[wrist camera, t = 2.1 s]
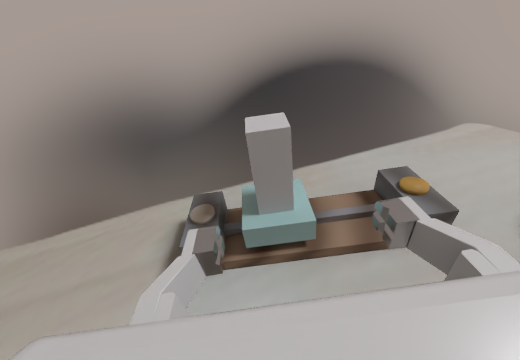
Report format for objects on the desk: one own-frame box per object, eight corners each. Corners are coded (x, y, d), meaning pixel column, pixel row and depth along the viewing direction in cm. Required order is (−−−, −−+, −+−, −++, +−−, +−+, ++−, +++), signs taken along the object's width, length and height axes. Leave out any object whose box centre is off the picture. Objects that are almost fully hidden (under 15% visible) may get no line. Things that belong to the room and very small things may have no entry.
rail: (192, 273, 26) (177, 243, 23) (203, 220, 34) (192, 191, 31) (442, 241, 26) (461, 206, 23) (398, 194, 33) (408, 162, 30)
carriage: (246, 248, 25) (221, 146, 18) (245, 202, 32) (227, 114, 24) (315, 239, 25) (319, 132, 18) (300, 195, 32) (298, 104, 24)
